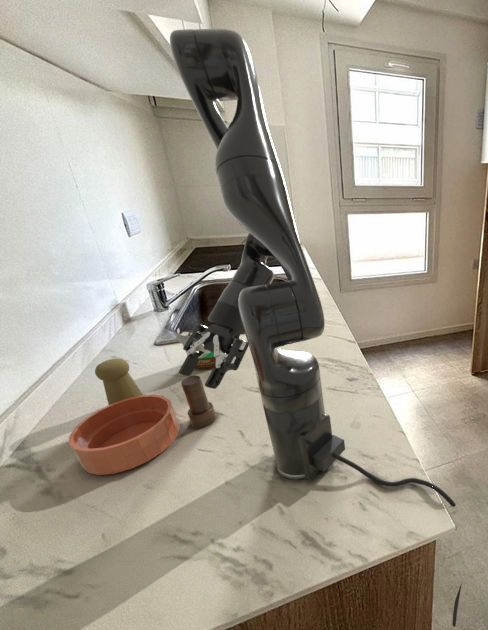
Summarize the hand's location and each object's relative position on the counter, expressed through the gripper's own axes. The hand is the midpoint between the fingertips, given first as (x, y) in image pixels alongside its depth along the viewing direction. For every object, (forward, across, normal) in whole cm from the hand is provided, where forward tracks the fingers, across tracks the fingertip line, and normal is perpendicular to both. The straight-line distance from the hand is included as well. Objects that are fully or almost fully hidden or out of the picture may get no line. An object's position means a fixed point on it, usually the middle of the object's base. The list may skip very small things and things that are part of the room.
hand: (196, 381), depth 65 cm
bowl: (+14, -5, -1) cm, 15 cm away
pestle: (+7, 0, +6) cm, 9 cm away
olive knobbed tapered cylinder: (+11, -19, +3) cm, 22 cm away
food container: (-2, -19, +15) cm, 25 cm away
